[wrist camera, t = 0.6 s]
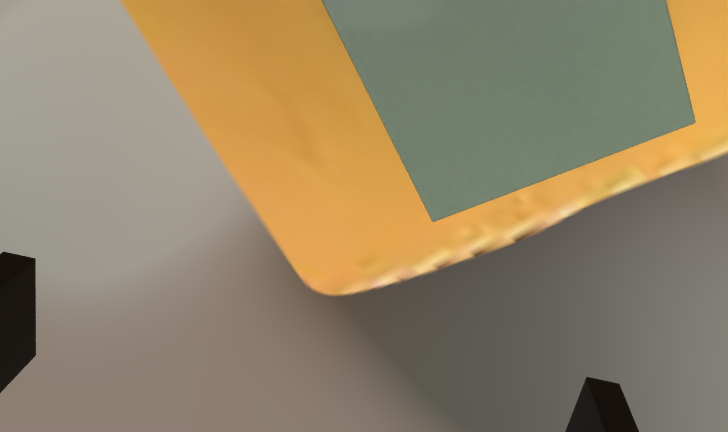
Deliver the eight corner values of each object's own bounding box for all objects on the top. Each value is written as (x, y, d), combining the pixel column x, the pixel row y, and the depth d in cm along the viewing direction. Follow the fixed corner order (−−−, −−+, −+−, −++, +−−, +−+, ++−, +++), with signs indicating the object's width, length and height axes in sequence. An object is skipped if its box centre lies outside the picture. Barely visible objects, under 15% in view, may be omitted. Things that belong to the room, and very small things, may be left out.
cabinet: (309, -97, 34) (288, -66, 26) (556, -227, 31) (609, -234, 23) (424, 145, 41) (432, 222, 33) (636, 58, 37) (696, 123, 30)
